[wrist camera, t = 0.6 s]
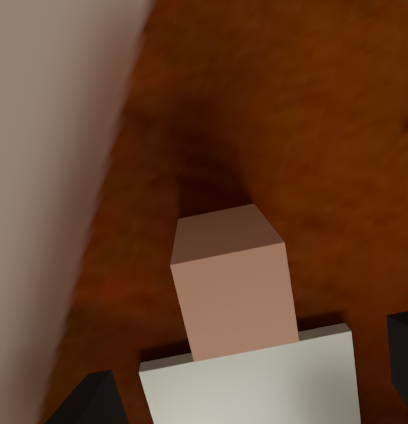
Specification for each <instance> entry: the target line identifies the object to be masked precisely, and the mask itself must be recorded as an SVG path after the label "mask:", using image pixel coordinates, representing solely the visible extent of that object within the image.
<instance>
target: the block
mask: <svg viewBox="0 0 408 424" xmlns="http://www.w3.org/2000/svg"><path fill="white" fill-rule="evenodd" d="M170 266H171V270H172V274H173V279H174V283H175V287H176V291H177V295H178V299H179V303H180V307H181V311H182V315H183V319H184V323H185V327H186V331H187V335H188V340H189V344H190V348H191V352H192V356H193V360H194V362H197V361H203V360H208V359H213V358H218V357H223V356H228V355H234V354H239V353H244V352H249V351H254V350H259V349H265V348H270V347H275V346H280V345H285V344H290V343H296V342H299V336H298V330H297V323H296V316H295V309H294V303H293V296H292V289H291V282H290V276H289V269H288V262H287V256H286V249H285V242H284V241H283V240H282V238H281V237H280V236H279V235H278V233H277V232H276V231H275V230H274V228H273V227H272V226H271V225H270V223H269V222H268V221H267V220H266V218H265V217H264V216H263V214H262V213H261V212H260V211H259V209H258V208H257V207H256V206H255V204H249V205H244V206H239V207H234V208H229V209H224V210H219V211H215V212H210V213H205V214H200V215H195V216H190V217H185V218H180V219H178V224H177V229H176V235H175V241H174V246H173V252H172V258H171V263H170Z"/></svg>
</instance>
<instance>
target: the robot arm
mask: <svg viewBox="0 0 408 424" xmlns="http://www.w3.org/2000/svg"><path fill="white" fill-rule="evenodd" d="M387 325H388V338H389V352H390V365H391V379H392V383H393V385H394V386H395V388H396V390H397V391H398V393H399V395H400V396H401V398H402V400H403V401H404V403H405V405H406V406H407V408H408V311H406V312H401V313H396V314H391V315H387ZM45 424H129V423H128V420H127V417H126V414H125V411H124V408H123V404H122V401H121V398H120V395H119V392H118V389H117V386H116V383H115V380H114V377H113V374H112V371H111V370H107V371H102V372H96V373H91V374H88V375H87V376H86V377H85V378H84V379H83V380H82V381H81V383H80V384H79V385H78V386H77V387H76V388H75V389H74V390H73V392H72V393H71V394H70V395H69V396H68V397H67V398H66V400H65V401H64V402H63V403H62V404H61V405H60V407H59V408H58V409H57V410H56V411H55V412H54V414H53V415H52V416H51V417H50V418H49V419H48V420H47V422H46V423H45Z"/></svg>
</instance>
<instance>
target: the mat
mask: <svg viewBox="0 0 408 424" xmlns="http://www.w3.org/2000/svg"><path fill="white" fill-rule="evenodd" d="M298 336H299V342H296V343H290V344H285V345H280V346H275V347H270V348H265V349H259V350H254V351H249V352H244V353H239V354H234V355H228V356H223V357H218V358H213V359H208V360H203V361H197V362H194V360H193V356H192V353H188V354H183V355H178V356H172V357H167V358H162V359H157V360H152V361H147V362H142V363H141V365H140V369H139V375H140V378H141V382H142V385H143V388H144V392H145V395H146V399H147V402H148V405H149V409H150V412H151V415H152V419H153V422H154V424H361V420H360V410H359V400H358V391H357V381H356V371H355V361H354V352H353V342H352V332H351V330H350V329H349V327H348V326H347V325H346V324H345V323H341V324H336V325H331V326H326V327H321V328H316V329H311V330H305V331H300V332H298Z"/></svg>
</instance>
